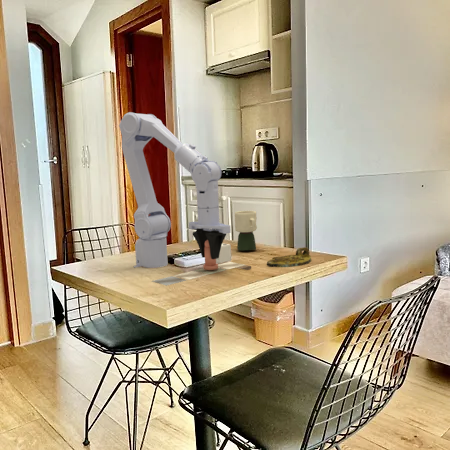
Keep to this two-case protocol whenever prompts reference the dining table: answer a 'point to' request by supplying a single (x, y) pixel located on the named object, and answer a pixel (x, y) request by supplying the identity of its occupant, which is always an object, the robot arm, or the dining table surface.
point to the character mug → (245, 229)
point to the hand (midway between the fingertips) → (210, 257)
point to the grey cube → (224, 253)
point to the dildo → (209, 259)
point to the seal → (291, 259)
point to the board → (194, 274)
